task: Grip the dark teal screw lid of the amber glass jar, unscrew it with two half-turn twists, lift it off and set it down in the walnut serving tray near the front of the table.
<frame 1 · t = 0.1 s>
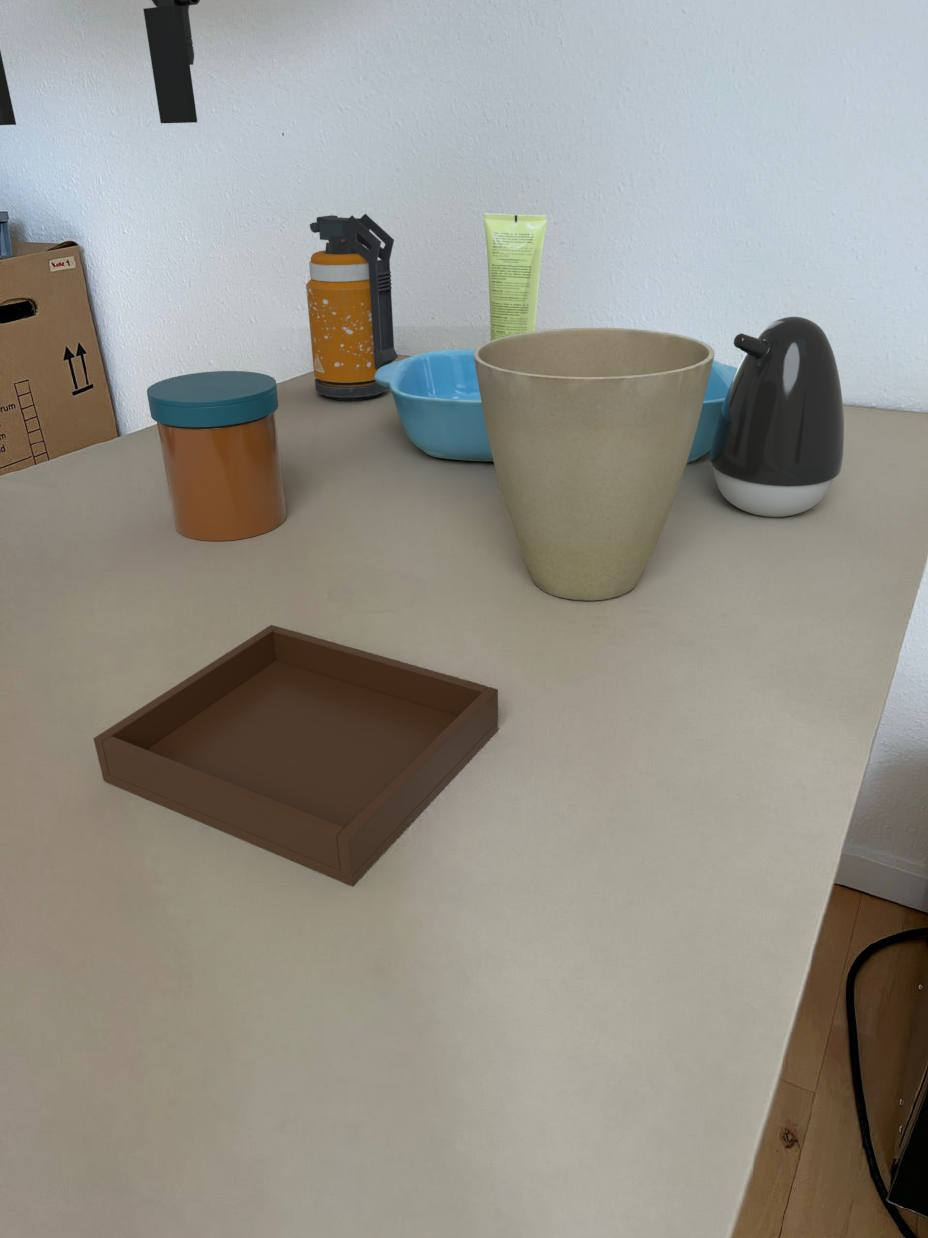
hand: (95, 124, 58), 29 cm above the table, tool pointing down, fingers open, 13 cm apart
casserole dish: (559, 442, 95), on the table
jam jar: (231, 519, 77), on the table
tray: (307, 755, 48), on the table
plant pot: (581, 580, 66), on the table
pump dispenser: (766, 508, 78), on the table
lid: (212, 390, 72), point 11 cm above the table, screwed on, not yet turned
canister: (360, 396, 113), on the table
tube: (513, 389, 114), on the table
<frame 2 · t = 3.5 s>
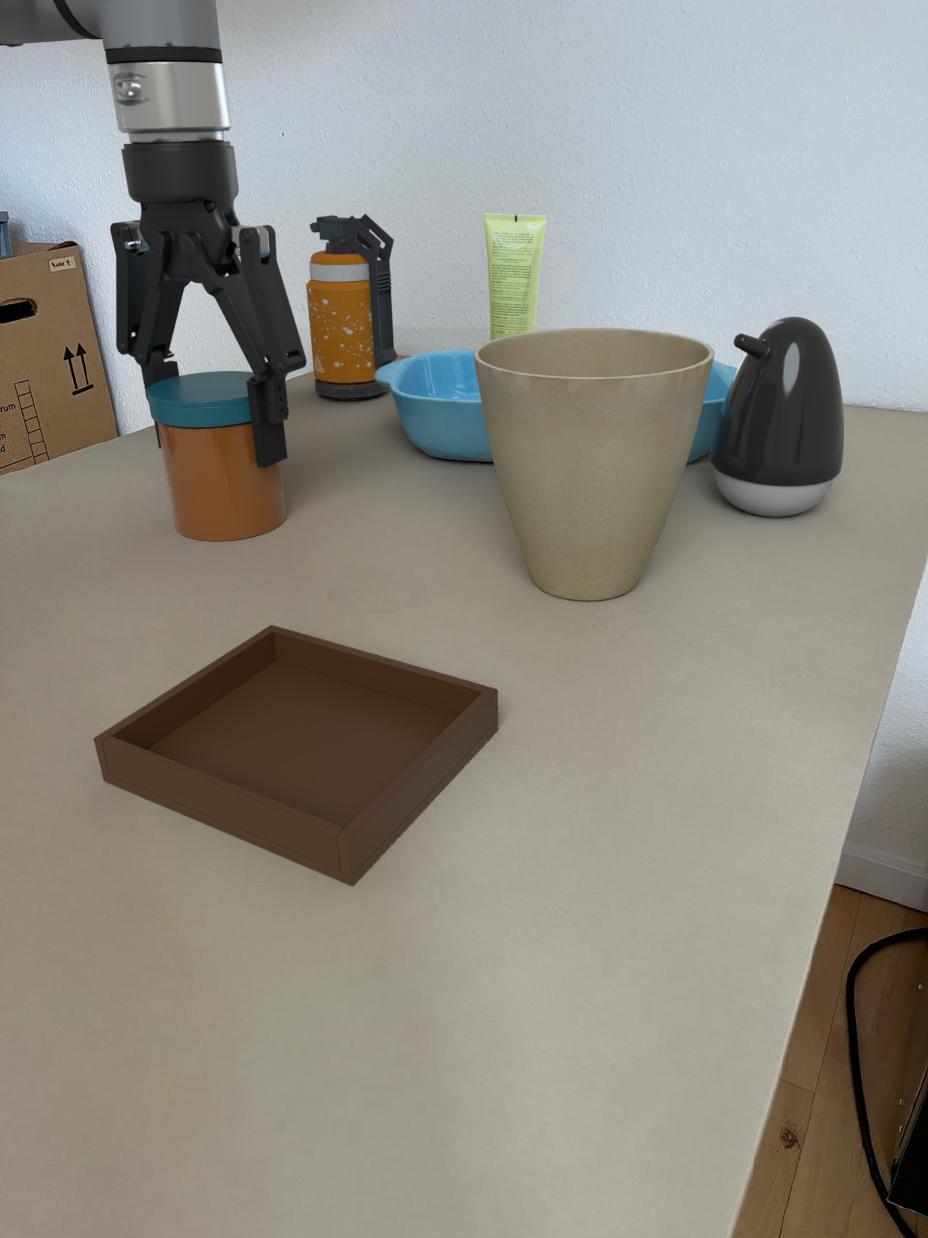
hand: (222, 453, 75), 6 cm above the table, tool pointing down, fingers closed on lid, 10 cm apart
lid: (212, 390, 72), point 11 cm above the table, screwed on, not yet turned, touching gripper
everything else where it was.
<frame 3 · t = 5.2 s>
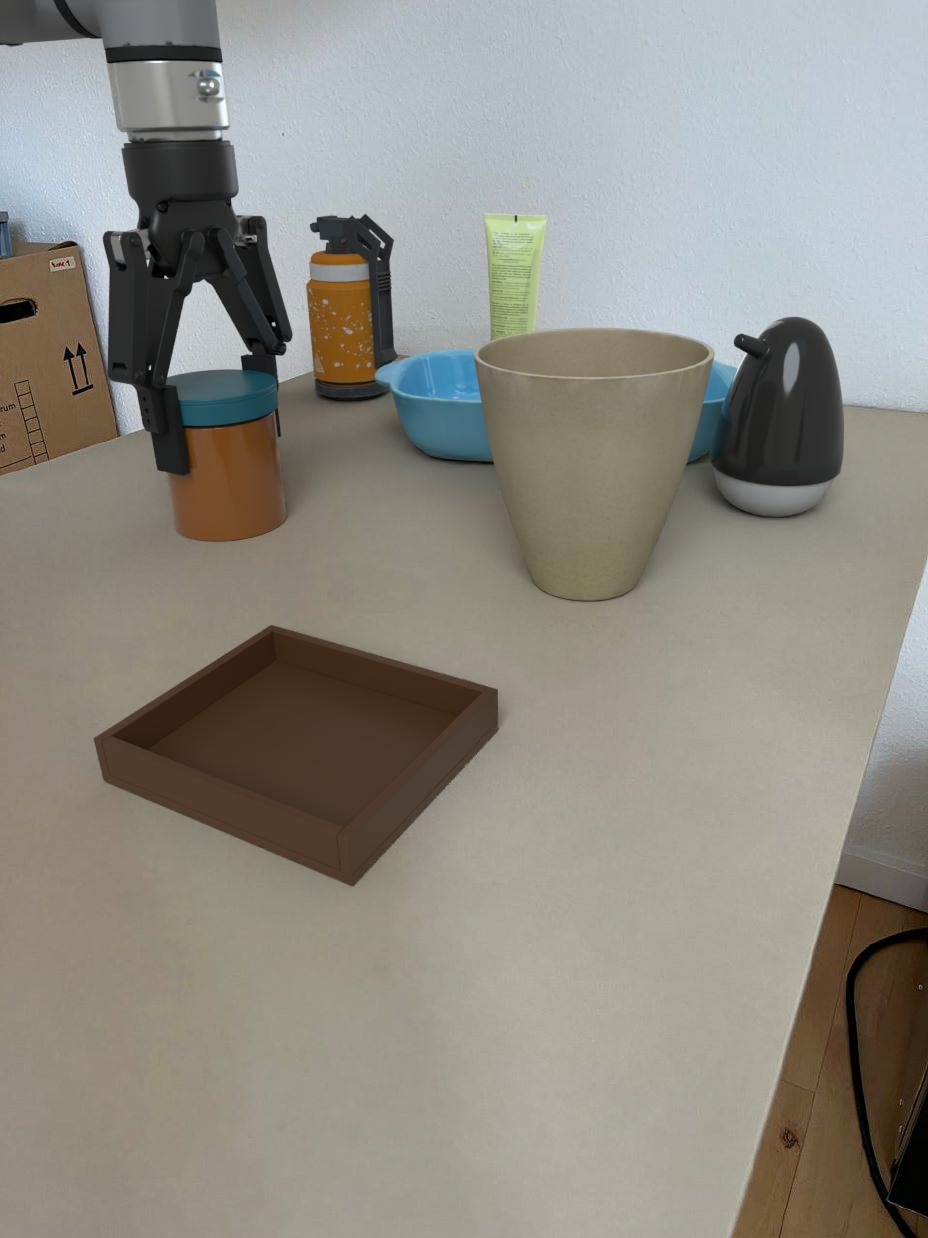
hand: (222, 452, 75), 6 cm above the table, tool pointing down, fingers closed on lid, 10 cm apart
lid: (212, 388, 72), point 11 cm above the table, turned 89° so far, risen 0.1 cm, still on its thread, touching gripper
everything else where it was.
when the fingers open (6 cm above the table, at t = 6.8 s): lid stays where it is, point 11 cm above the table.
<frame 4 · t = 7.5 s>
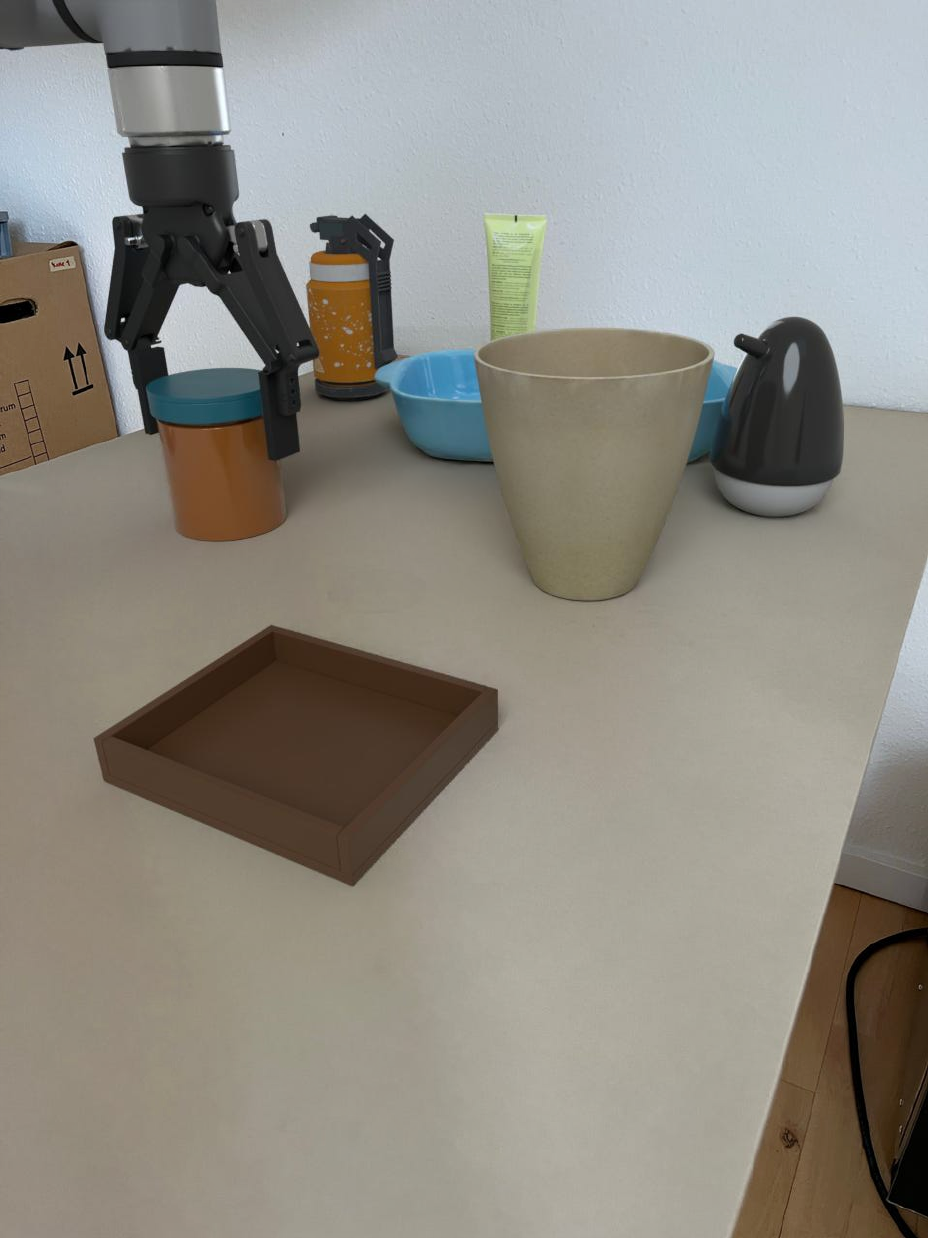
hand: (220, 442, 74), 7 cm above the table, tool pointing down, fingers open, 13 cm apart
lid: (212, 387, 72), point 11 cm above the table, turned 179° so far, risen 0.2 cm, still on its thread
everything else where it was.
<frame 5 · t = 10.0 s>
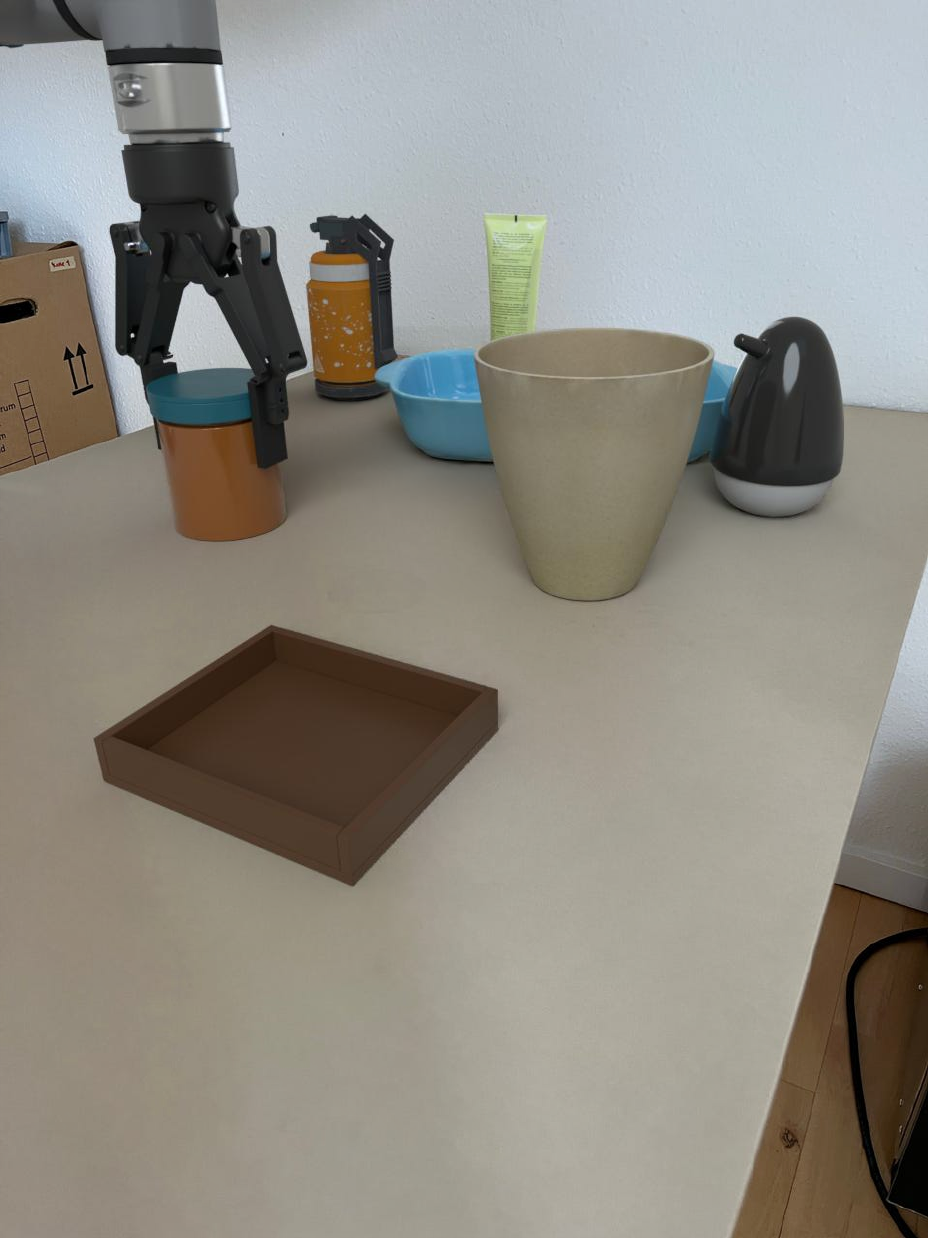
hand: (221, 453, 75), 6 cm above the table, tool pointing down, fingers closed on lid, 10 cm apart
lid: (212, 387, 72), point 11 cm above the table, turned 179° so far, risen 0.2 cm, still on its thread, touching gripper
everything else where it was.
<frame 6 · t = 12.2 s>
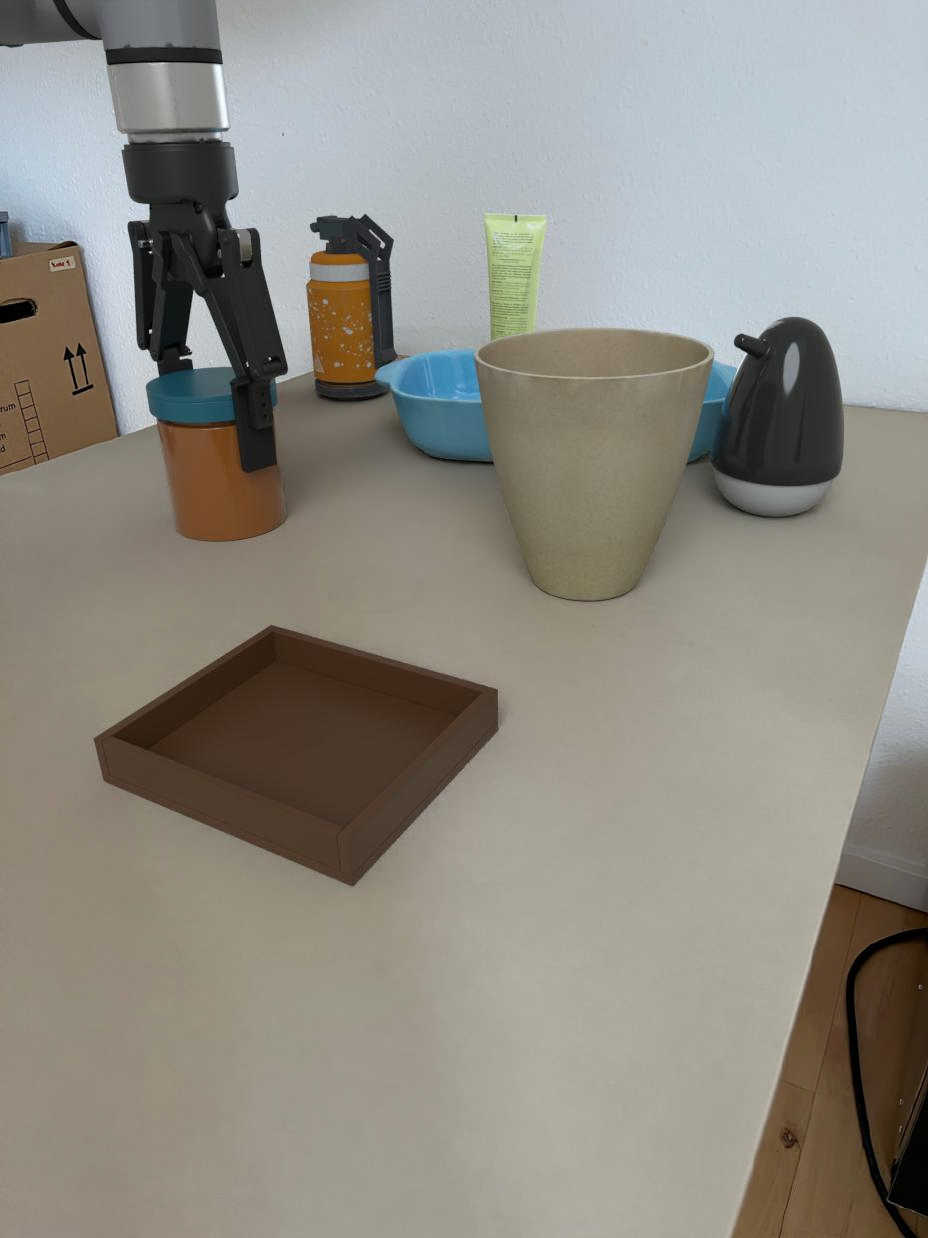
hand: (222, 453, 75), 6 cm above the table, tool pointing down, fingers closed on lid, 10 cm apart
lid: (211, 386, 72), point 11 cm above the table, off its thread, touching gripper
everything else where it was.
when the fingers open (3 cm above the table, at t = 21.3 s): lid drops 6 cm, resting on tray.
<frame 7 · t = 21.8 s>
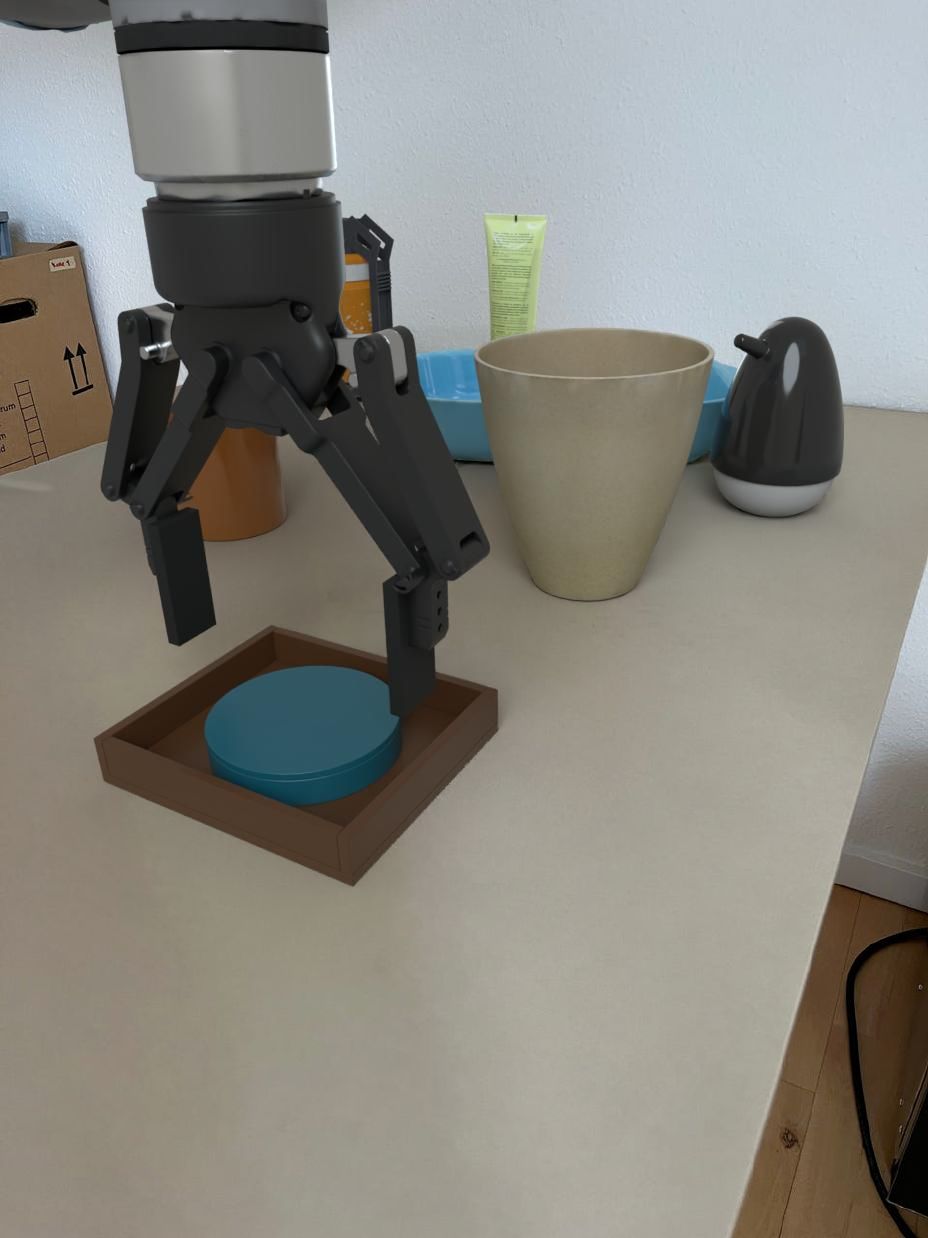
hand: (296, 666, 46), 5 cm above the table, tool pointing down, fingers open, 13 cm apart
lid: (304, 721, 47), point 2 cm above the table, off its thread, touching tray
everything else where it was.
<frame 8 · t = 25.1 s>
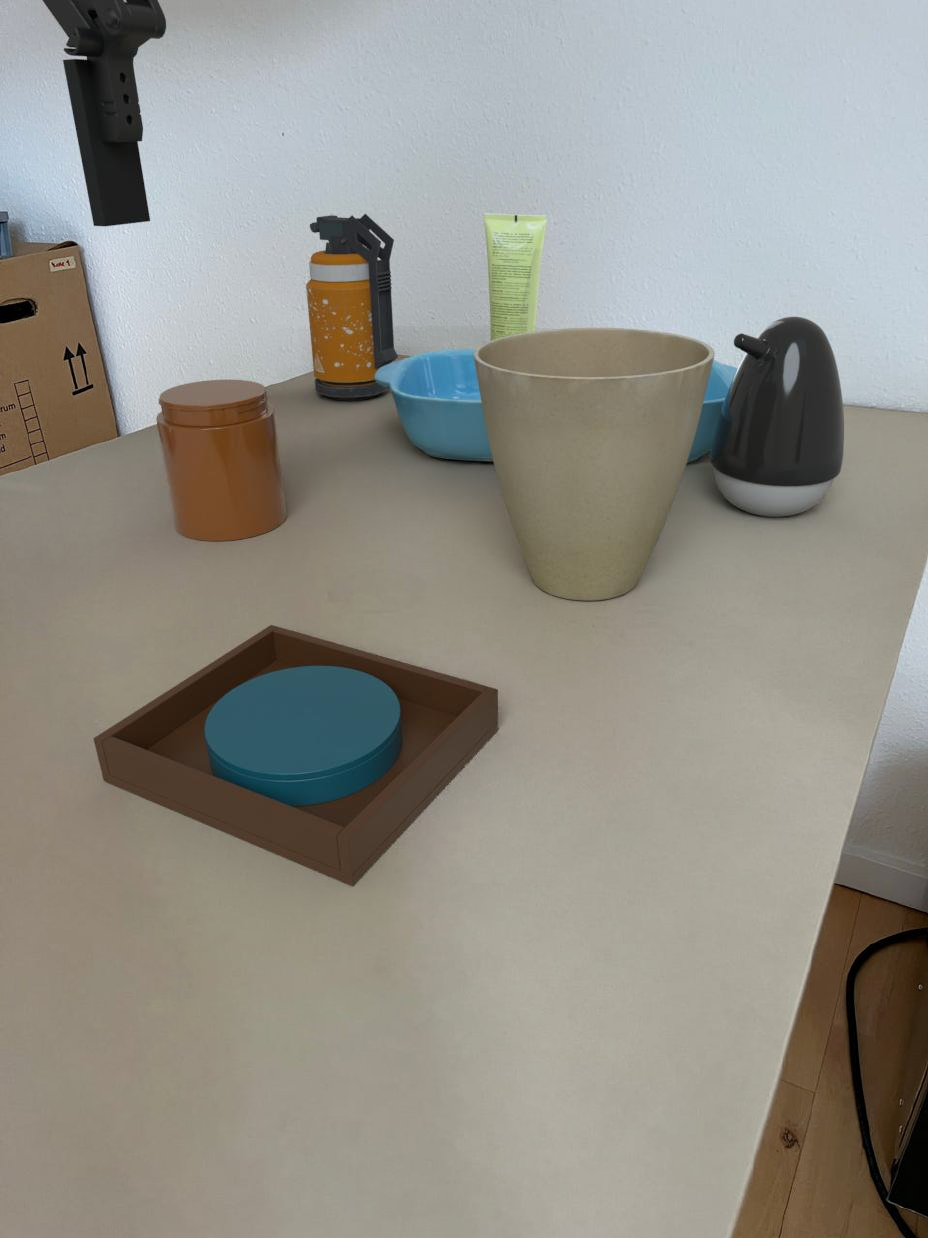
hand: (26, 220, 47), 25 cm above the table, tool pointing down, fingers open, 13 cm apart
nothing on the table moved.
at the end: lid came off its thread; lid inside the target area in the tray (0.1 cm from its centre), point 2.1 cm above the tray's base; the gripper is holding nothing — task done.
